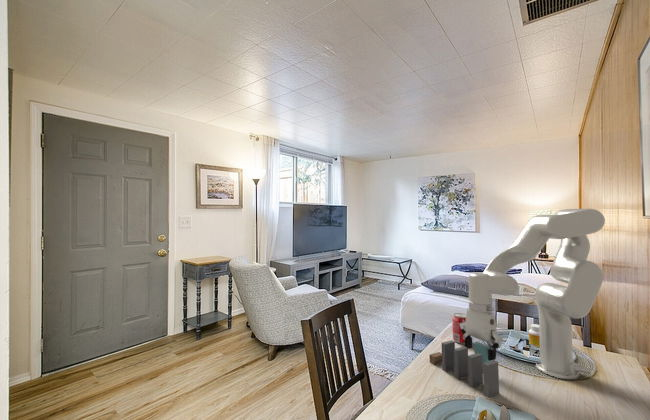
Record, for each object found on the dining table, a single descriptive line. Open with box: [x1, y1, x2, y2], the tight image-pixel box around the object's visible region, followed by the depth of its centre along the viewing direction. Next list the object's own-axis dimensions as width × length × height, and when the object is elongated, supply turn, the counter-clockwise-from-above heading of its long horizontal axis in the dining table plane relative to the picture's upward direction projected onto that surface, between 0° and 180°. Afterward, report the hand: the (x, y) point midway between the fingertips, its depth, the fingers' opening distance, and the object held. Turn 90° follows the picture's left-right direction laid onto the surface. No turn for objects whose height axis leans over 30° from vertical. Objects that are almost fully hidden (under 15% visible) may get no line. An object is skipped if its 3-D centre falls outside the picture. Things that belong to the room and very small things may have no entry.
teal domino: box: [473, 341, 490, 364], centre depth 109 cm, size 2×5×10 cm, turn 24°
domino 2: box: [454, 345, 469, 380], centre depth 106 cm, size 2×5×10 cm, turn 114°
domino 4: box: [483, 359, 500, 398], centre depth 96 cm, size 2×5×10 cm, turn 114°
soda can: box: [451, 312, 466, 345], centre depth 136 cm, size 7×7×12 cm
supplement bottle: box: [528, 323, 540, 348], centre depth 128 cm, size 5×5×10 cm
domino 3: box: [467, 353, 484, 389], centre depth 101 cm, size 2×5×10 cm, turn 114°
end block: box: [429, 351, 442, 366], centre depth 117 cm, size 2×5×3 cm, turn 114°
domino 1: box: [441, 339, 456, 373], centre depth 112 cm, size 2×5×10 cm, turn 114°
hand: (479, 353), depth 109 cm, fingers open, 9 cm apart
